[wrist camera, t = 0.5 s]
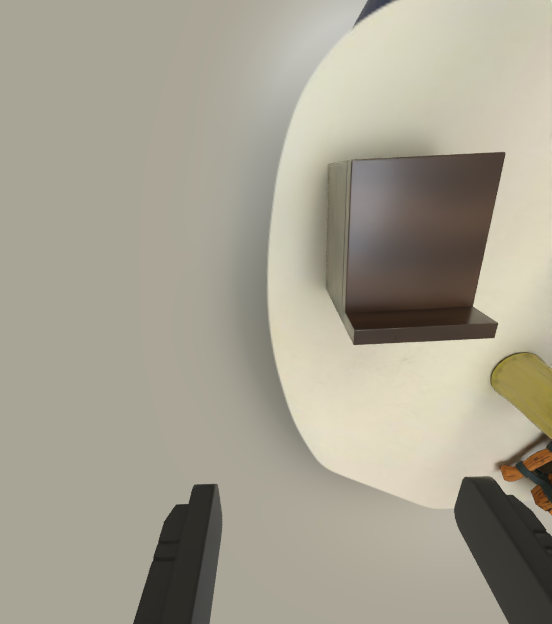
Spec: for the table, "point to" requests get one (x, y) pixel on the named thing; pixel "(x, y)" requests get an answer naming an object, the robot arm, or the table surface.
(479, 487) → the robot arm
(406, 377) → the table surface
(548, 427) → the vase
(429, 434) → the table surface
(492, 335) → the wooden cube chair
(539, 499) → the mug
